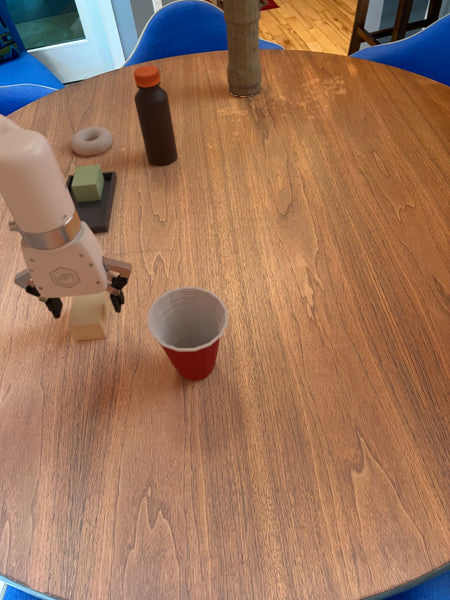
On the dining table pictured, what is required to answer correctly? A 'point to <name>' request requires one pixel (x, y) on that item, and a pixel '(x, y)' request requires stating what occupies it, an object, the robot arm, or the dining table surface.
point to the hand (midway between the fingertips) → (89, 308)
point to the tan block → (90, 316)
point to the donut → (91, 141)
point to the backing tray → (96, 204)
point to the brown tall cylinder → (243, 45)
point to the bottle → (154, 117)
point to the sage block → (88, 183)
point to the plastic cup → (189, 329)
